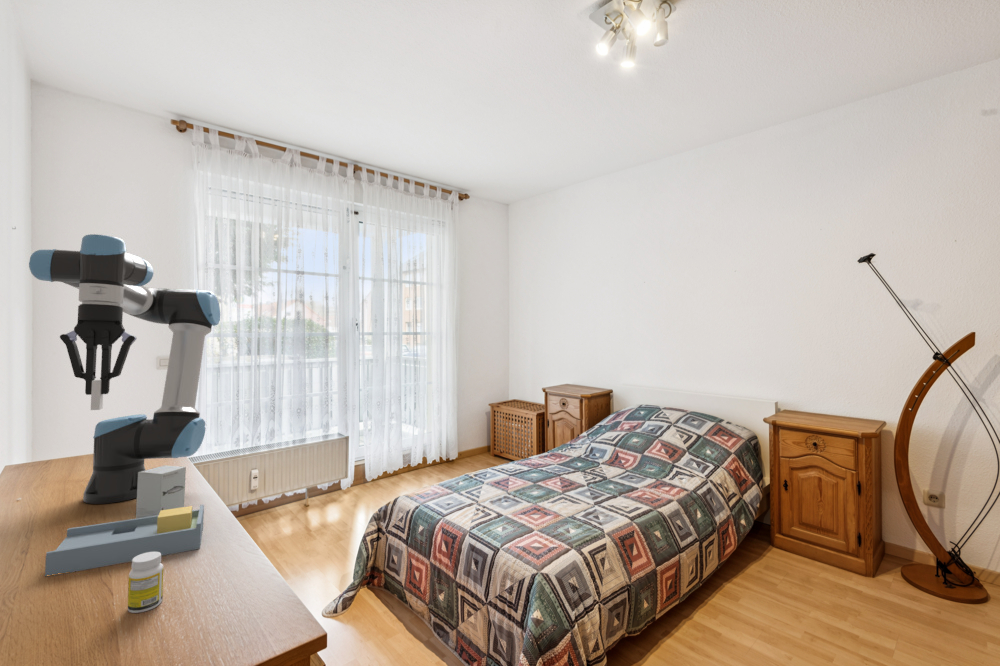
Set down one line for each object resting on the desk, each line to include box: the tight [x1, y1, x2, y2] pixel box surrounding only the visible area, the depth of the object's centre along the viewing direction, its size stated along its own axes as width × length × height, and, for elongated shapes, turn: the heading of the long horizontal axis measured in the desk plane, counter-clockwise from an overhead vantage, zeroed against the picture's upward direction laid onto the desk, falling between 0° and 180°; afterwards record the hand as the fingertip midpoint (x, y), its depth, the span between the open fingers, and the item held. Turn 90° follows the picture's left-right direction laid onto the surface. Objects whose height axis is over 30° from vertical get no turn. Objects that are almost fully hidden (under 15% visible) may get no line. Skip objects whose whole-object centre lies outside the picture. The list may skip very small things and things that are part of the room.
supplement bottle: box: [127, 552, 164, 614], centre depth 77 cm, size 5×5×8 cm
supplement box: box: [135, 465, 187, 519], centre depth 116 cm, size 7×7×13 cm
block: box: [157, 505, 193, 534], centre depth 101 cm, size 5×6×4 cm
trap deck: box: [44, 504, 205, 577], centre depth 98 cm, size 14×25×6 cm, turn 121°
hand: (96, 409), depth 100 cm, fingers closed
